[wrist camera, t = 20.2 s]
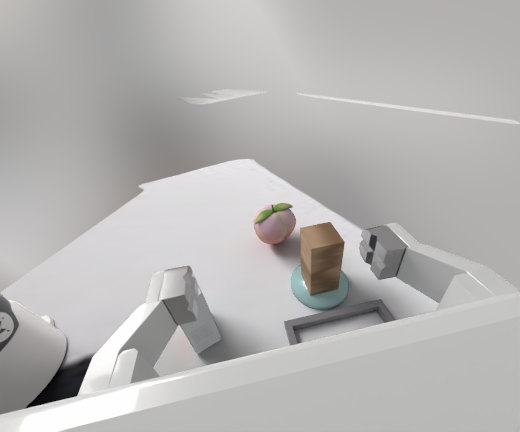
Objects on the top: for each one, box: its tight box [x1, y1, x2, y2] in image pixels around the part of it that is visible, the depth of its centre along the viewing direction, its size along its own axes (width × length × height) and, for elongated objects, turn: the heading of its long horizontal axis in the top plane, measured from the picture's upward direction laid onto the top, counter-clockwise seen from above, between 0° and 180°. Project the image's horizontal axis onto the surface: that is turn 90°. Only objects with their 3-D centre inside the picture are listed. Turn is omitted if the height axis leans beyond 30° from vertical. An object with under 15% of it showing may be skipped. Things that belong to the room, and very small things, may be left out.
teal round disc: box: [291, 265, 349, 310], centre depth 42 cm, size 10×10×1 cm
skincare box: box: [180, 273, 222, 354], centre depth 34 cm, size 6×4×12 cm
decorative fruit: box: [254, 203, 296, 244], centre depth 51 cm, size 9×8×10 cm
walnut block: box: [300, 222, 344, 296], centre depth 39 cm, size 5×5×11 cm
